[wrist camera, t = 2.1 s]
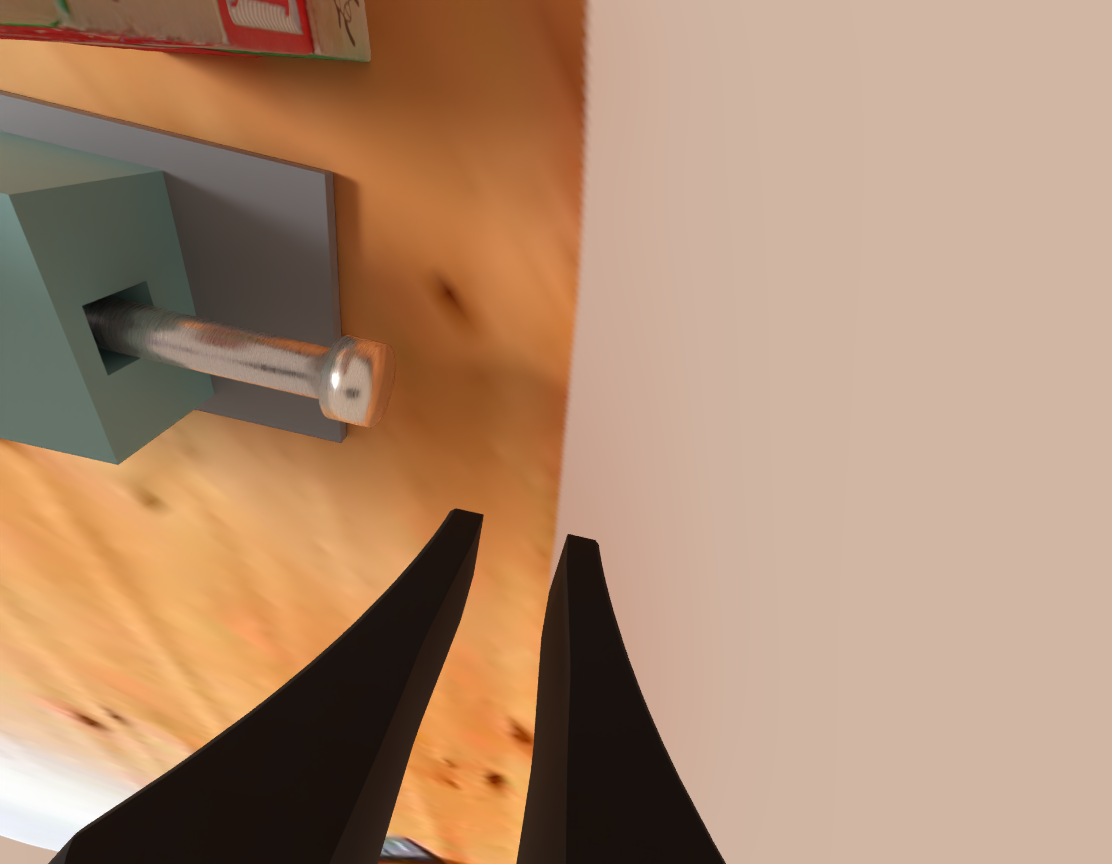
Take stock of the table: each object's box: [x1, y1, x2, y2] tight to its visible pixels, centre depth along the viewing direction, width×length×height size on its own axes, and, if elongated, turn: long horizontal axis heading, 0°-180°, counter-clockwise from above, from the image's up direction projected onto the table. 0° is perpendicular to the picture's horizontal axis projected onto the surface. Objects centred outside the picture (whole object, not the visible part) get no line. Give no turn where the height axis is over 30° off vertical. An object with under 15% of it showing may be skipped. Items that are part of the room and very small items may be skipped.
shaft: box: [82, 296, 395, 428], centre depth 15 cm, size 11×3×3 cm, turn 78°
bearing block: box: [0, 90, 347, 465], centre depth 15 cm, size 12×10×5 cm
